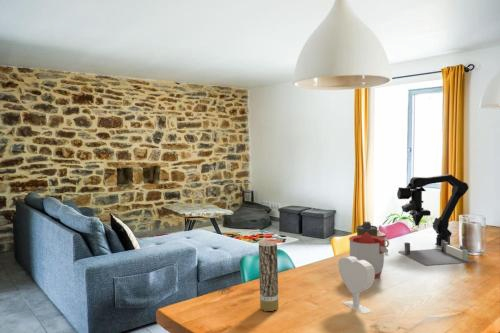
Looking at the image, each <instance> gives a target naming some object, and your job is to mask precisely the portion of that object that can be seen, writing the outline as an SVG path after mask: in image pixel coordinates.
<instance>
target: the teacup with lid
mask: <svg viewBox="0 0 500 333" xmlns="http://www.w3.org/2000/svg"><path fill="white" fill-rule="evenodd" d="M386 236H387V235H386V233H384V232H382V231H380V229H379V228H377V237H381V238H383V239H384V243H385V248H388V247H389V246H390V241H389V239H387V238H386Z"/></svg>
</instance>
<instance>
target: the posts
mask: <svg viewBox="0 0 500 333" xmlns="http://www.w3.org/2000/svg"><path fill="white" fill-rule="evenodd" d="M444 242H445V240H441V246H440V247H441V248H440V249H441V252H444ZM459 249H460V250H466V246H465V245H460V246H459ZM404 251H405V254H406V255H410V251H411V243H410V242H407V241H406V242H404Z"/></svg>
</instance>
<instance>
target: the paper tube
mask: <svg viewBox="0 0 500 333" xmlns="http://www.w3.org/2000/svg"><path fill="white" fill-rule="evenodd" d="M258 261H259V262H258V266H259V267H258V268H259V270H258V271H259V272H258V273H259V302H260V303H259V306H260V309H261V311H263V310H264V311H263V312H266V311H273V312H275V311H274V310H276V311H278V309H279V269H278V268H279V267H278V262H279V261H278V242H277V241H275V240H270V239H269V240H268V239H267V240H266V239H265V240H260V241H259V242H258Z"/></svg>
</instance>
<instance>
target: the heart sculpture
mask: <svg viewBox="0 0 500 333" xmlns="http://www.w3.org/2000/svg"><path fill="white" fill-rule="evenodd" d="M337 265H338V272H339V275H340V278H341V280H342V282H343V283H344V285H345V286H346V287H347V289H348V290H349V292H350V293H351V294H352V300H351V301H346V300H345V301H346V302H343V301H342V302H343V303H344V304H345V305H344V304H343V305H344V306H346V305H348V306H349V307H348V306H347V307H348V308H350V307H351V308H350V309H352V308H353V309H352V310H354V309H355V310H354V311H356V310H358V311H359V312H358V311H357V312H358V313H360V312H362V313H367V312H370V311H371V310H372V309H370V308H368V307H365V306H364V305H361V304H360V301H361V300H360V297H361V296H360V293H362V292H363V291H365V290H369V288H371V287H372V285H373V283H374V282H375V279H376V278H375V270H374V267H373V266H372V265H371V264H370V263H369V262H367V261H365V260H358V259H357V258H356V257H353V256H350V255H349V256H345V257H340V258H339V259H338V264H337ZM362 313H361V314H362Z"/></svg>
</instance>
